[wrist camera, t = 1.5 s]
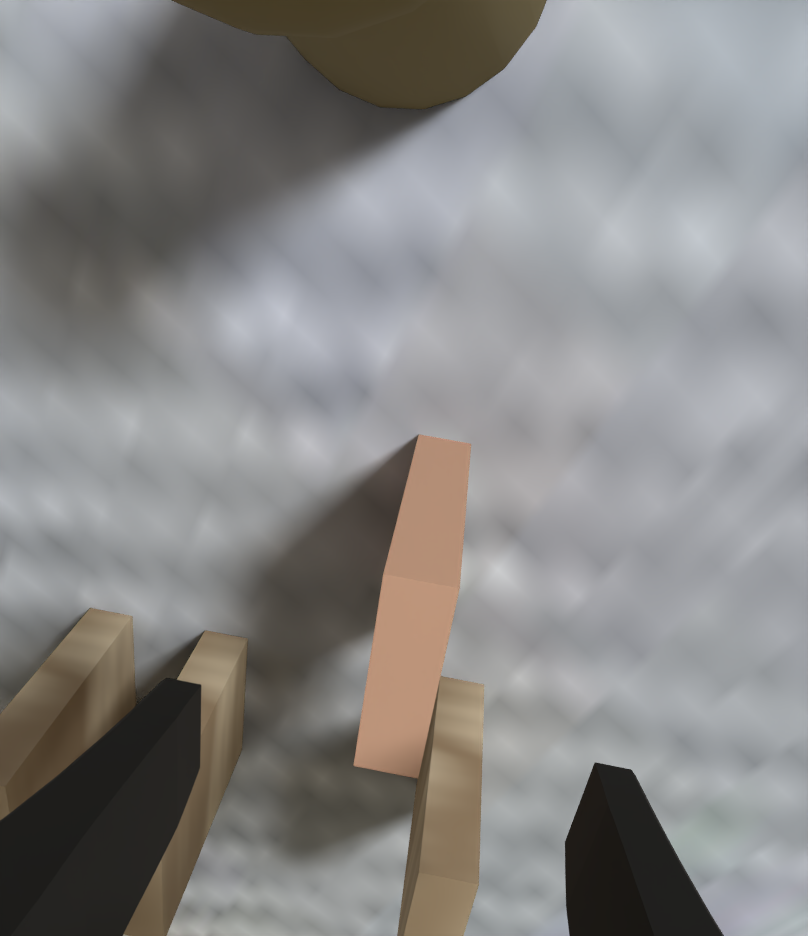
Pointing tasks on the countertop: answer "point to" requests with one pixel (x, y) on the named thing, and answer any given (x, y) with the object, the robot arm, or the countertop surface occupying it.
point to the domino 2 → (415, 609)
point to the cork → (392, 41)
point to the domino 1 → (67, 705)
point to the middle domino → (200, 774)
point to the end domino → (446, 817)
